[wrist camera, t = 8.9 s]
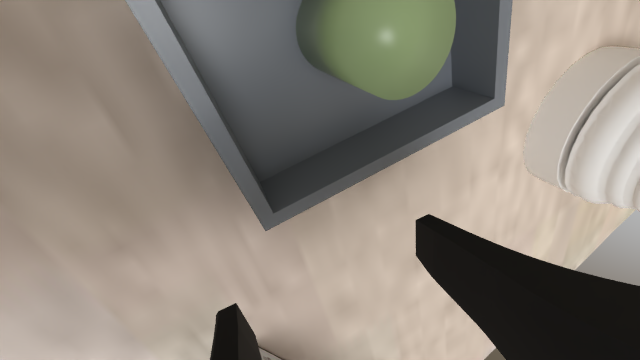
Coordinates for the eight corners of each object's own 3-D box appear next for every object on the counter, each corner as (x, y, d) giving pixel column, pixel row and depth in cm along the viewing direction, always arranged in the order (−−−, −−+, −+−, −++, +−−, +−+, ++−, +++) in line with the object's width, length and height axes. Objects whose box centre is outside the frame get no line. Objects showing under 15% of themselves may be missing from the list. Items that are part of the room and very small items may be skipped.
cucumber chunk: (312, 86, 16) (366, 118, 12) (282, -3, 14) (336, -8, 9) (379, 53, 17) (458, 72, 12) (362, -37, 14) (453, -59, 10)
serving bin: (251, 193, 19) (265, 231, 16) (85, -92, 11) (43, -135, 7) (455, 90, 21) (504, 105, 18) (447, -207, 13) (533, -277, 10)
